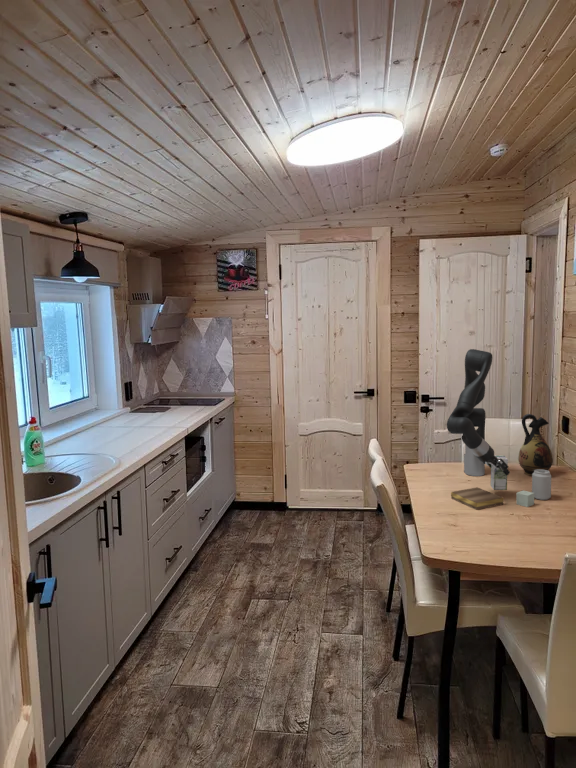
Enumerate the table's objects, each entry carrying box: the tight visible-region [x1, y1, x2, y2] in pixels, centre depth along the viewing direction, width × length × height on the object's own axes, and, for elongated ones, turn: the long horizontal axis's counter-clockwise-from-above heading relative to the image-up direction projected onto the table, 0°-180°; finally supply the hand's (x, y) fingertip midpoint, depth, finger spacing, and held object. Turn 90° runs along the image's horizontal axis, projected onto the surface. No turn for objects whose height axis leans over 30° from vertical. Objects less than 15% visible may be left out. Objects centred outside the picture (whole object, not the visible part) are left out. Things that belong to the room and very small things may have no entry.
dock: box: [450, 486, 504, 511], centre depth 237 cm, size 16×14×3 cm
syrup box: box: [490, 455, 509, 491], centre depth 245 cm, size 6×6×14 cm
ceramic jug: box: [517, 413, 554, 477], centre depth 272 cm, size 17×15×30 cm
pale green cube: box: [515, 489, 535, 508], centre depth 232 cm, size 5×5×5 cm
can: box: [531, 469, 552, 501], centre depth 239 cm, size 8×8×12 cm
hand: (501, 471), depth 245 cm, fingers closed on syrup box, 7 cm apart
